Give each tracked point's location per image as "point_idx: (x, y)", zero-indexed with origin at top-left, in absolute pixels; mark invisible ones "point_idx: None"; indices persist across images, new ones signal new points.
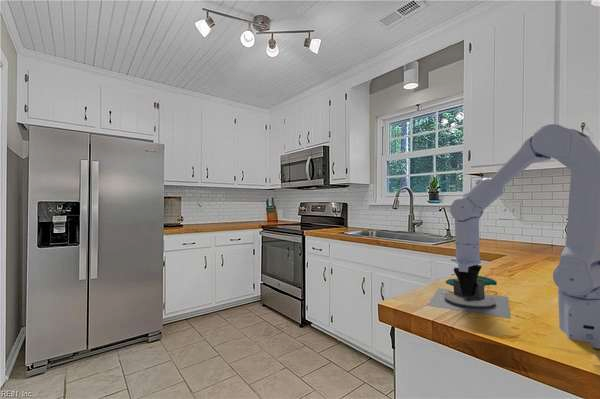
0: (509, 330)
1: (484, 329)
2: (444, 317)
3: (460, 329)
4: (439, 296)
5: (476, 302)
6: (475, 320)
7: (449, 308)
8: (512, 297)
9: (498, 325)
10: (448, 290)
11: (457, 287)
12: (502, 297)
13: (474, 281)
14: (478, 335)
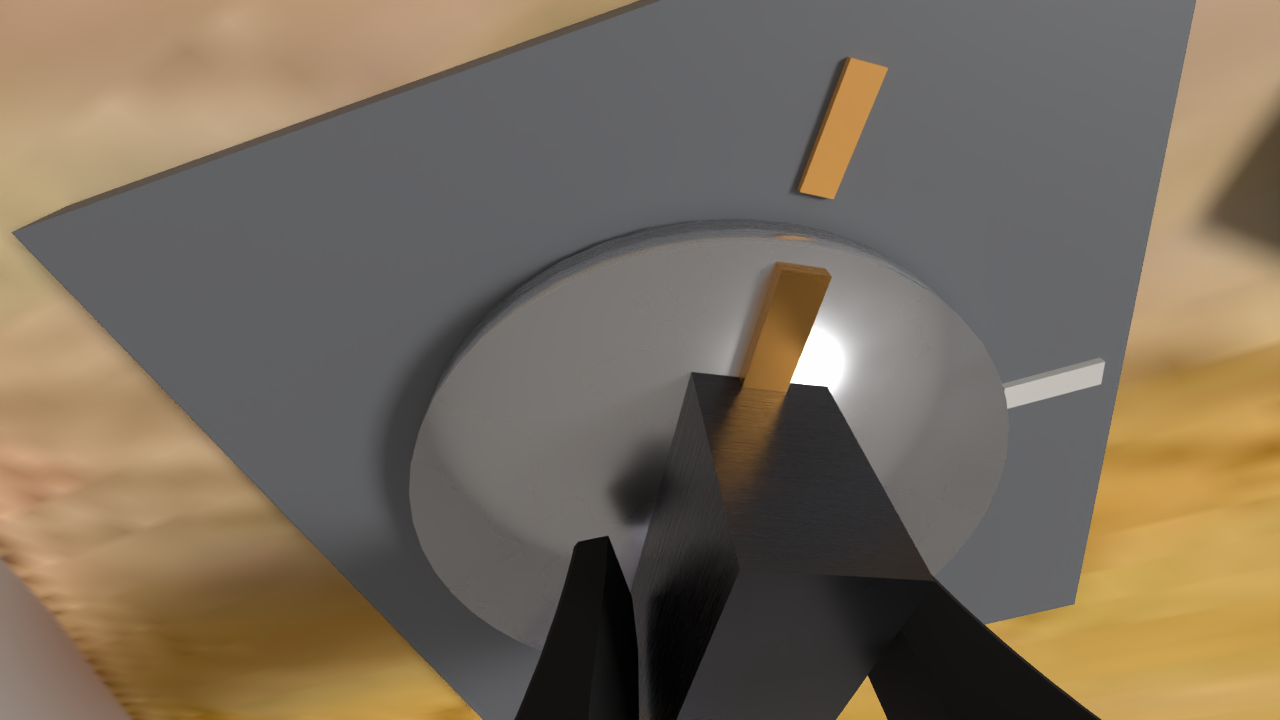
0: (380, 716)
1: (238, 663)
2: (111, 439)
3: (43, 600)
4: (612, 145)
5: (546, 618)
6: (341, 590)
7: (245, 461)
8: (1192, 554)
9: (401, 676)
10: (1097, 86)
11: (695, 509)
12: (1028, 589)
13: (888, 716)
14: (100, 676)
